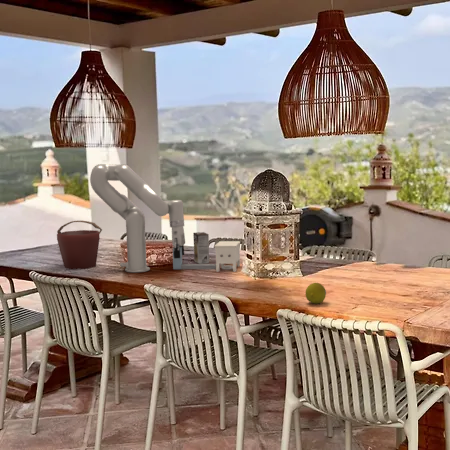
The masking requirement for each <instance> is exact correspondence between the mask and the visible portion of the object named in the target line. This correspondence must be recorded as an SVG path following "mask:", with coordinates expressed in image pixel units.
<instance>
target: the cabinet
mask: <svg viewBox="0 0 450 450" xmlns="http://www.w3.org/2000/svg"><path fill="white" fill-rule="evenodd" d="M240 244H241V240H240V241H238V240H235V241H234V240H232V241H231V240H229V241H228V240H226V241H225V240H219V241H218V242H217V243H216V244H215V245H214V249H215V264H216V269H215V272H220V271H221V270H220V268H221V266H225V265H226V264H227V265H228V264H232V266H233V269H232V272H237V267H241V253H240V252H241V251H240Z"/></svg>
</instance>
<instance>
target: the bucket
mask: <svg viewBox="0 0 450 450" xmlns="http://www.w3.org/2000/svg"><path fill="white" fill-rule="evenodd" d="M72 223H84V224H87V225H91V226H93V228H95V229H98V230H93V229H92V230H90V229H87V230H86V229H84V230H83V229H80V230H70V231H68V230H67V231H62V230H63V229H64V228H65V227H67V226H68V225H70V224H72ZM61 231H62V232H61ZM102 231H103V229H102V227H100V226H99V225H98V224H97V223H96V222H93V221H90V220H89V221H88V220H72V221H70V222H67V223H65V224H63V225H61V226H60V227H59V228H58V230H57V231H56V232H57V233H56V240H57V245H58V248H59V252H60V255H61V260H62V264H63V266H64V267H63V268H64V269H67V270H86V269H91V268H96V267H97V260H98V251H99V246H100V245H99V244H100V236H101V233H102Z"/></svg>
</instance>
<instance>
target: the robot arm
mask: <svg viewBox="0 0 450 450" xmlns="http://www.w3.org/2000/svg"><path fill="white" fill-rule="evenodd" d="M89 176H90V177H89V181H90V186H91V188H92V190H93V192H94V193H95V194H96V195H97V196H98V197H99V198H100V199H101V200H102V202H104V203H105V204H106V205H107V206H108V207H109V208H110V209H111V210H112V211H113V212H115V213H116V214H118V215H119V216H120V217H121V218H122V219H124V221H125V230H126V231H125V232H126V251H127V261H126V262H120V263H119V266H120V267H121V268H122V267H123V268H124V267H125V269H124V271H125V272H127V273H145V272H148V271H150V269H151V268H150V267H149V266H148V265H147V244H146V243H147V241H146V240H147V239H146V217H145V213H144V212H143V210H142V209H141V208H140V207H139V206H137V205H136V204H135V203H134V202H133V201H132V200H131V199H130V198H128V196H126V195H125V194H123V193H120V192H119V191H118V190H117V189H116V188H115V187H114V186H113V185H112V184H110V181H113V182H115V181H116V182H117V181H118V182H120V183H122V185H124V186H125V187H126V188H127V189H128V190H129V191H130V192H131V193H132V194H133V195H134V196H135V197H136V198H138V200H140V201H142V202H143V204H145V205H146V206H147V207H148V208H149V209H150V210H151V211H152V212H153V213H154V214H155V215H156V216H158V217H164V216H166V215H167V214H168V219H169V220H168V222H169V228H171V242H172V243H171V244H172V251H173V250H174V258H180V250H179V247H182V256H184V255H185V247H184V246H185V244H186V237H185V230H184V229H185V228H184V227H185V218H184V217H185V216H184V202H183V200H182V199H172V200H163V199H162V197H160V196H159V195H158V194H157V192H155V191H154V190H153V189H152V188H151V186H150V185H149V184H148V183H147V182H146V181H145V180H144V179H143V178H142V177H141V176H140V175H139V174H138V173H137V172H135V171H134V170H133V169H132V168H131V167H130V165H127V164H110V163H109V164H108V163H107V164H105V163H99V164H96V165H94V167H93V168H92V169H91V172H90V175H89ZM173 248H174V249H173Z"/></svg>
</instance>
